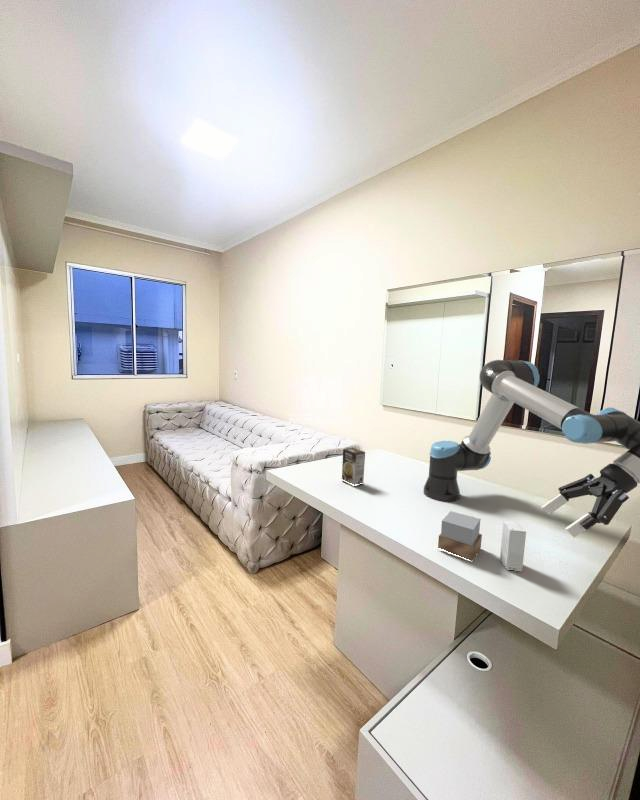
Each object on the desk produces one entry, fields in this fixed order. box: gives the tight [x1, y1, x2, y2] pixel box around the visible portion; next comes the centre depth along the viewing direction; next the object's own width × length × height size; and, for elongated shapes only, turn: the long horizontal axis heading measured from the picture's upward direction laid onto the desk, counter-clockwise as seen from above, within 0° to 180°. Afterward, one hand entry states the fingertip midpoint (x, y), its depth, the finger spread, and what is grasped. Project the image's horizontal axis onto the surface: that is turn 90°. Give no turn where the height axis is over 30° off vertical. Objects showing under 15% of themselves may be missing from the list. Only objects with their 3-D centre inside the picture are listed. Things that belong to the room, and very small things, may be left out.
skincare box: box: [499, 520, 527, 572], centre depth 98 cm, size 6×4×12 cm
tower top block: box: [440, 510, 481, 546], centre depth 106 cm, size 9×9×5 cm
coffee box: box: [341, 447, 366, 485], centre depth 162 cm, size 9×6×16 cm
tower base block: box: [437, 533, 483, 561], centre depth 106 cm, size 10×10×5 cm
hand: (556, 521), depth 95 cm, fingers open, 13 cm apart
